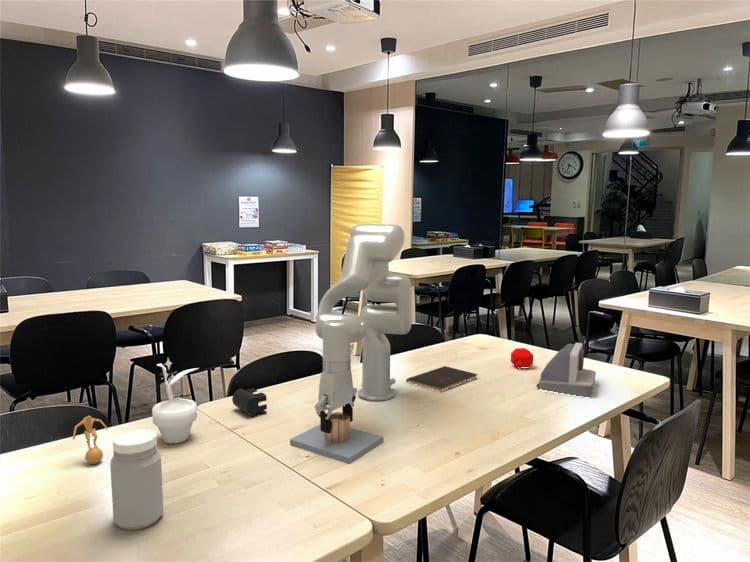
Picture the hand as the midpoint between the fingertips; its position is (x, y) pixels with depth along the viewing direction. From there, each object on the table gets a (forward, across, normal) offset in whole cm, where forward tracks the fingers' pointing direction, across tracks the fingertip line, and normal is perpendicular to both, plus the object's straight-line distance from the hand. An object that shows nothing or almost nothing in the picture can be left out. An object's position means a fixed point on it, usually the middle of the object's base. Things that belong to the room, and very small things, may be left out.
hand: (336, 426), depth 153 cm
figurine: (+5, +44, -44) cm, 62 cm away
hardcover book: (+6, -67, -2) cm, 67 cm away
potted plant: (+5, +23, -38) cm, 45 cm away
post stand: (+5, 0, 0) cm, 5 cm away
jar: (+5, +53, -11) cm, 54 cm away
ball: (+5, -101, +17) cm, 103 cm away
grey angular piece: (+5, -86, +39) cm, 95 cm away
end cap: (+5, -3, -37) cm, 37 cm away
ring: (+3, 0, 0) cm, 3 cm away
